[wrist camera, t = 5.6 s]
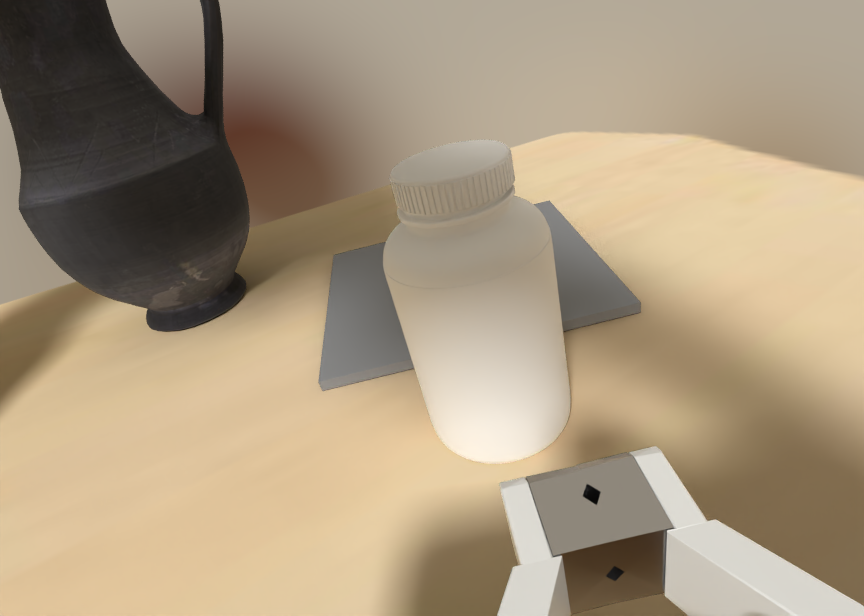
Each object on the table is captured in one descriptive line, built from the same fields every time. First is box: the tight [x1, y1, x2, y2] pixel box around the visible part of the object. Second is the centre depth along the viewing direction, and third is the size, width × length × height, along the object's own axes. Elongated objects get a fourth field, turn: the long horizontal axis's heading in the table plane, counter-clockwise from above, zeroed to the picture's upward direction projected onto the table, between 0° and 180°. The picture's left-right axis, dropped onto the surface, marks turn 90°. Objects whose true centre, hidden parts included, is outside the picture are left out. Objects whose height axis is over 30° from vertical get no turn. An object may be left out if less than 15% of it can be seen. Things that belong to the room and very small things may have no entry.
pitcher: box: [0, 0, 249, 331], centre depth 44 cm, size 17×21×30 cm
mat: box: [319, 201, 641, 391], centre depth 43 cm, size 22×20×1 cm
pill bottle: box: [383, 140, 571, 464], centre depth 26 cm, size 8×8×15 cm
